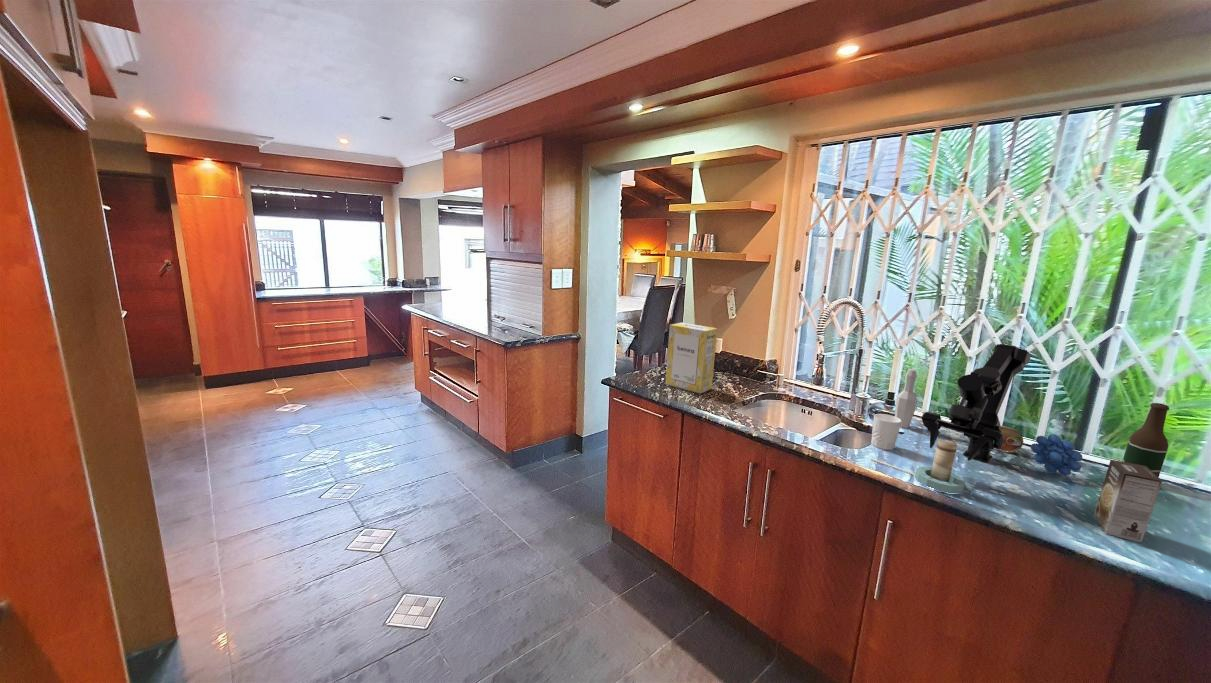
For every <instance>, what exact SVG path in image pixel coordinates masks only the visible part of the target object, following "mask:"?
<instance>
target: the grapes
mask: <svg viewBox="0 0 1211 683" xmlns="http://www.w3.org/2000/svg"><path fill="white" fill-rule="evenodd" d="M1035 442H1036V443H1032V444H1030V450H1031V451H1032V452H1033V453H1034V455H1033V460H1034V461H1035V462H1036V463H1037V464H1038V465H1043V467H1044V468H1043V469H1045V471H1046V472H1048V473H1050V472H1052V473H1053V474H1054V473H1056V472H1058V473H1059V474H1060V475H1062V476H1066V477H1067V476H1070V475H1071V474H1072V471H1073V472H1080V471H1081V469H1082V465H1081V464H1080V461H1082V460H1083V454H1082V453H1081V452H1079V451H1078V450H1075V444H1074V443H1073V442H1072V441H1070V440H1069V439H1064V440H1062V438H1061V437H1060V436H1059V435H1057V434H1049V435H1048V437H1046V436H1044V435H1038V436H1036V438H1035ZM1052 473H1051V474H1052Z"/></svg>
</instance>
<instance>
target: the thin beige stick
mask: <svg viewBox="0 0 1211 683" xmlns="http://www.w3.org/2000/svg"><path fill="white" fill-rule="evenodd" d="M871 461H873V462H875V463H877V464H881V465H883V466H885V467H886V466H887V467H888V466H889V467H888V468H891V467H892V468H891V469H894V470H897V471H899V470H901V471H900V472H902V471H904V472H903V473H905V472H907V473H906V474H908V473H909V474H908V475H911V474H912V475H911V476H913V475H915V473H916V472H915V473H914V472H912V471H910V470H909V471H908V470H906V469H903V468H901V467H898V466H896V465H895V466H894V465H893V464H889V463H886V462H884V461H881V460H878V459H875V458H873V457H872V458H871Z"/></svg>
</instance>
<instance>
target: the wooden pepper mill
mask: <svg viewBox="0 0 1211 683" xmlns="http://www.w3.org/2000/svg"><path fill="white" fill-rule="evenodd" d="M957 450H958V444H957V443H955V442H953V441H951V440H946V439H938V440H937V443H936V447H935V452H934V457H933V462H932V466H931V467H932V470H931V475H930V477H931V478H934V479H937V480H939V481H944V482H949V480H950V475H951V472H952V470H953V466H954V462H955V456H956V454H957V453H956V452H957Z"/></svg>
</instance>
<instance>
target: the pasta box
mask: <svg viewBox="0 0 1211 683" xmlns="http://www.w3.org/2000/svg"><path fill="white" fill-rule="evenodd" d="M668 331H669V332H668V342H667V345H668V346H667V355H666V357H667V358H666V359H667V360H666V368H665V369H666V370H665V385H667V386H671V387H673V388H678V389H681V390H686V391H689V392H692V393H696V394H700V395H701V394H702V393H705V392H707V391H709V390H712V388H713V387H712V386H713V379H714V377H713V376H714V367H715V359H716V358H715V356H716V347H717V337H718V336H717V335H718V328H717V327H712V326H705V325H699V324H693V323H687V322H677V323H672V324H669V330H668Z"/></svg>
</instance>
